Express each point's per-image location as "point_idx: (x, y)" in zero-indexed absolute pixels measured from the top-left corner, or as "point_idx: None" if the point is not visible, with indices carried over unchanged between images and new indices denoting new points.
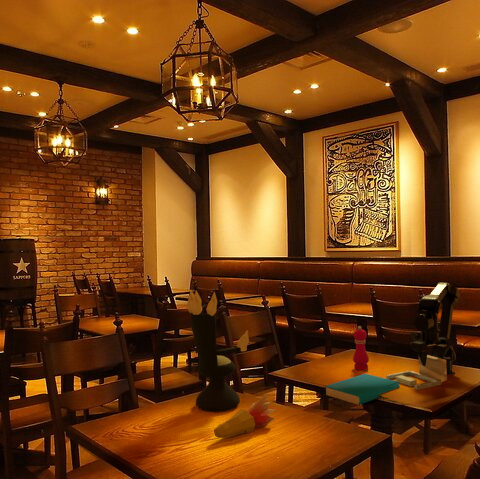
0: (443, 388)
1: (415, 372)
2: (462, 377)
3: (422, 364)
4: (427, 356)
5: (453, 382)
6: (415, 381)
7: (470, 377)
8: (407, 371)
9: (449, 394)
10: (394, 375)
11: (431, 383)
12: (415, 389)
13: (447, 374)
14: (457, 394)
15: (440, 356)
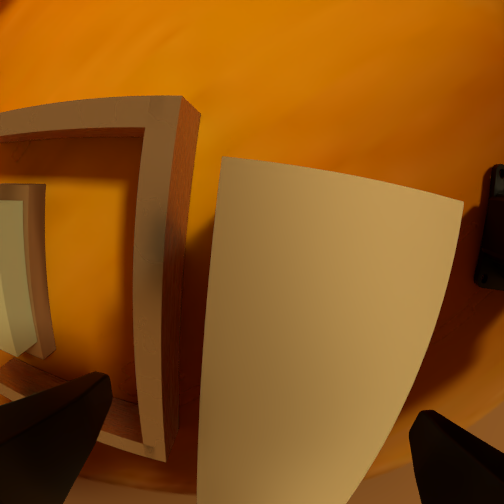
0: (182, 435)
1: (166, 192)
2: (482, 372)
3: (86, 378)
4: (271, 442)
5: None
6: (16, 349)
7: (497, 390)
8: (133, 110)
9: (135, 473)
10: (3, 135)
11: None
12: (4, 370)
13: (490, 287)
14: (167, 491)
15: (442, 495)
